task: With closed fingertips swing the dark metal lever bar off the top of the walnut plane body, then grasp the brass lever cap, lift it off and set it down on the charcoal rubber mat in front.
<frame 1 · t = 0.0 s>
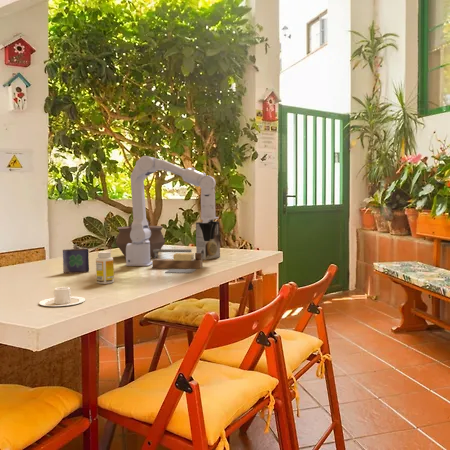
hand: (208, 240, 199), 10 cm above the table, fingers open, 7 cm apart
candle holder: (62, 304, 135), on the table
mat: (180, 271, 185), on the table
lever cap: (183, 259, 194), point 3 cm above the table, touching plane body
brown round pot: (140, 257, 229), on the table
flask: (76, 273, 186), on the table
lever: (172, 253, 195), point 5 cm above the table, hinge at 0.0°
supplement bottle: (105, 283, 164), on the table
coffee box: (208, 258, 222), on the table
plane body: (177, 267, 195), on the table
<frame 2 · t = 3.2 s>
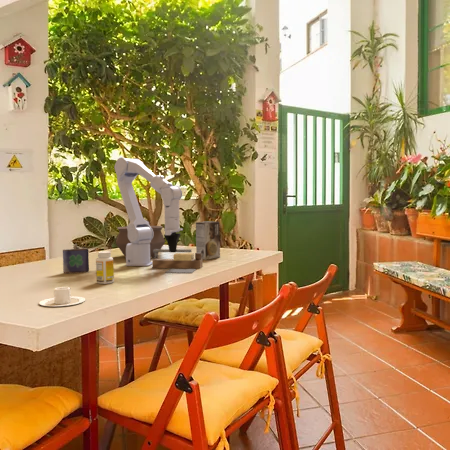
hand: (172, 252, 194), 6 cm above the table, fingers closed, pressing on lever
lever: (172, 253, 195), point 5 cm above the table, hinge at 0.0°, touching gripper
everything else where it was.
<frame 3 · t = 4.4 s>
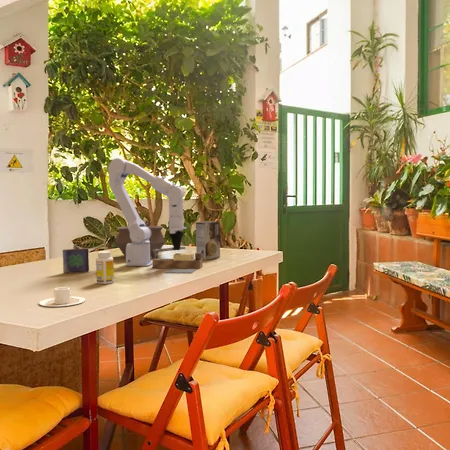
hand: (176, 250, 200), 6 cm above the table, fingers closed, pressing on lever
lever: (169, 252, 200), point 5 cm above the table, hinge at 49.5°, touching gripper
everything else where it was.
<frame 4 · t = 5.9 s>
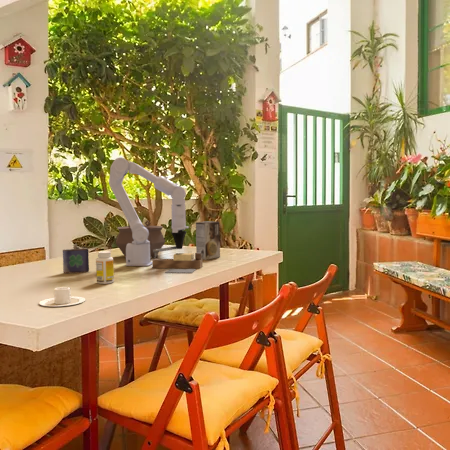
hand: (179, 248, 205), 6 cm above the table, fingers closed
lever: (166, 252, 201), point 5 cm above the table, hinge at 64.2°, touching gripper
everything else where it was.
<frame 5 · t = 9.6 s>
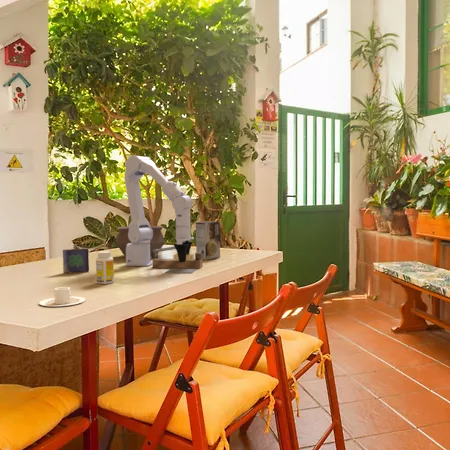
hand: (183, 260, 195), 3 cm above the table, fingers closed on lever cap, 5 cm apart
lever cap: (183, 259, 194), point 3 cm above the table, touching gripper, plane body
lever: (166, 252, 201), point 5 cm above the table, hinge at 64.4°
everything else where it was.
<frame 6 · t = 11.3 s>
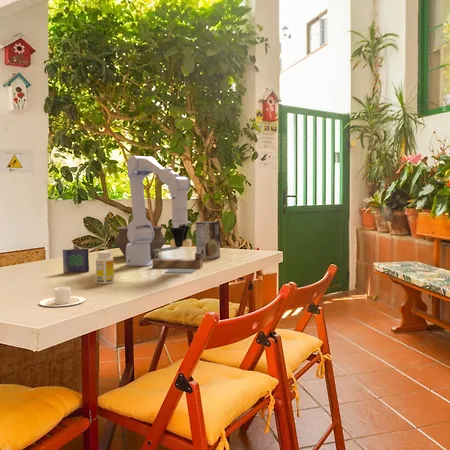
hand: (180, 246, 184), 9 cm above the table, fingers closed on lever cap, 5 cm apart
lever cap: (181, 246, 184), point 9 cm above the table, touching gripper
everything else where it was.
when the fingers open (2 cm above the table, at t = 13.3 s): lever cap drops 1 cm, resting on mat.
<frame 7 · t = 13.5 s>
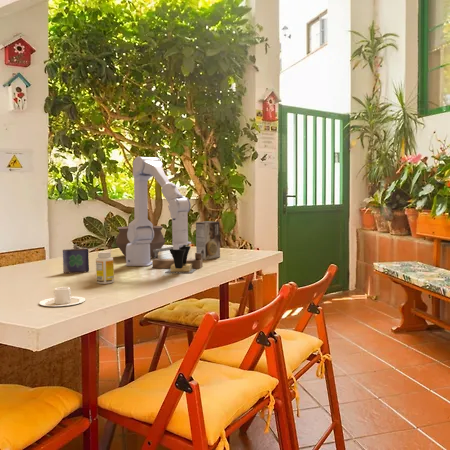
hand: (180, 266, 185), 2 cm above the table, fingers open, 6 cm apart
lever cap: (181, 270, 185), resting on mat
everything else where it was.
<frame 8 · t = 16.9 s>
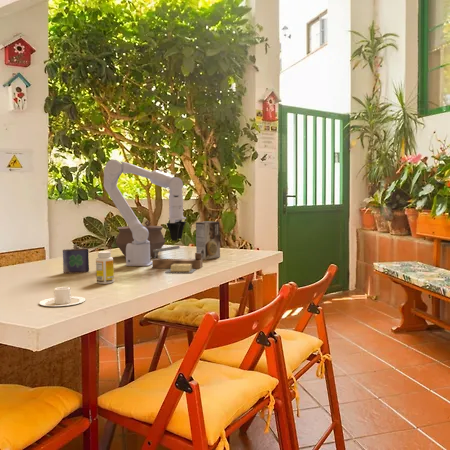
hand: (176, 239, 205), 10 cm above the table, fingers open, 7 cm apart
nothing on the table moved.
at the end: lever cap inside the target area on the mat (0.3 cm from its centre), point 0.3 cm above the mat's base; lever at +64° (first picture: +0°); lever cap tilted 0° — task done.
